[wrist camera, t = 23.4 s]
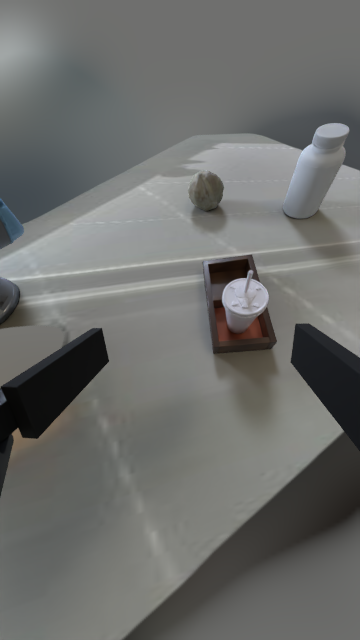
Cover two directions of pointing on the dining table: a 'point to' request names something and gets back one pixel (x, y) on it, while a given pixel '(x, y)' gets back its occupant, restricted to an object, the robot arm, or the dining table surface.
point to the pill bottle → (316, 171)
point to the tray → (222, 338)
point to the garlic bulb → (205, 190)
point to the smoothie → (244, 302)
